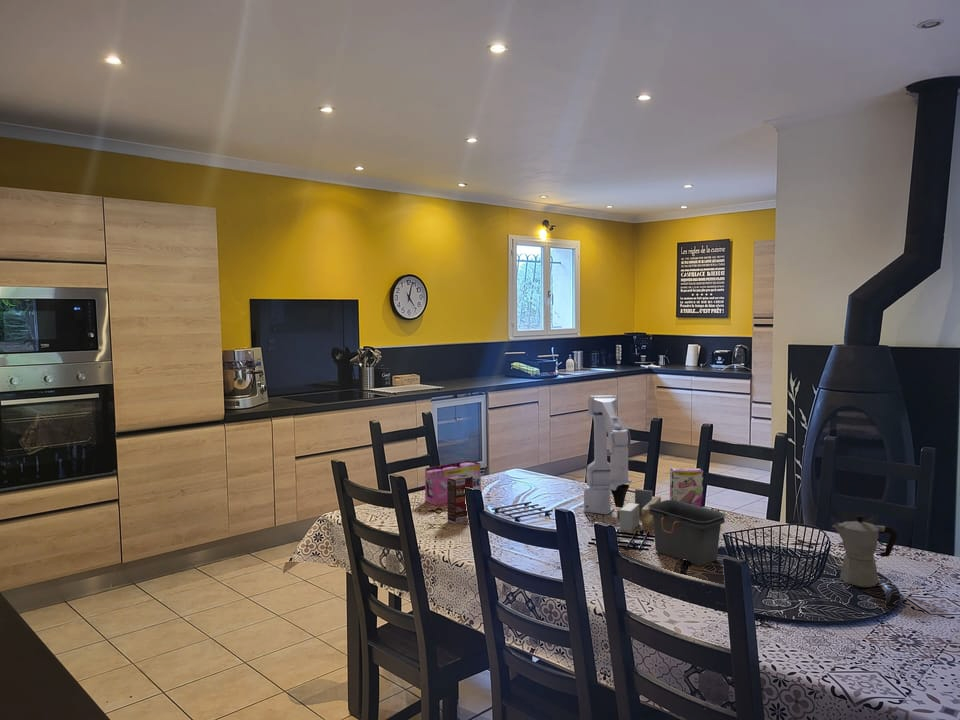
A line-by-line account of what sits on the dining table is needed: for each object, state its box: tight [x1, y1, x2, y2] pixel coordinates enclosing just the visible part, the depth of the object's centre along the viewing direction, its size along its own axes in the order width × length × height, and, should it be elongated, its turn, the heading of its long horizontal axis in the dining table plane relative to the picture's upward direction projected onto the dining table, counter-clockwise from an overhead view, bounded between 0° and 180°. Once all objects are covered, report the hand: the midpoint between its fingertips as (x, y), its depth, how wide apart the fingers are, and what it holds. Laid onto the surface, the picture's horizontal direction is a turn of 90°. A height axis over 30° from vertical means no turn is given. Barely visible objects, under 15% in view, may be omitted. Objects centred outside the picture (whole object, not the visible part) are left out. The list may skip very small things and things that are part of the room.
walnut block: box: [616, 506, 624, 520], centre depth 247 cm, size 3×6×3 cm, turn 151°
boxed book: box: [619, 502, 640, 532], centre depth 236 cm, size 4×10×7 cm, turn 152°
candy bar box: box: [669, 467, 704, 508], centre depth 250 cm, size 11×5×16 cm, turn 84°
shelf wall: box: [641, 496, 662, 531], centre depth 241 cm, size 2×18×7 cm, turn 152°
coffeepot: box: [832, 514, 899, 588], centre depth 185 cm, size 15×9×18 cm, turn 68°
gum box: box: [424, 460, 482, 506], centre depth 276 cm, size 24×8×14 cm, turn 129°
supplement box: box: [446, 475, 473, 525], centre depth 246 cm, size 9×5×16 cm, turn 131°
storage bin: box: [648, 499, 727, 567], centre depth 206 cm, size 21×16×14 cm
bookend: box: [634, 488, 653, 514], centre depth 251 cm, size 6×3×9 cm, turn 62°
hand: (619, 506), depth 227 cm, fingers closed
